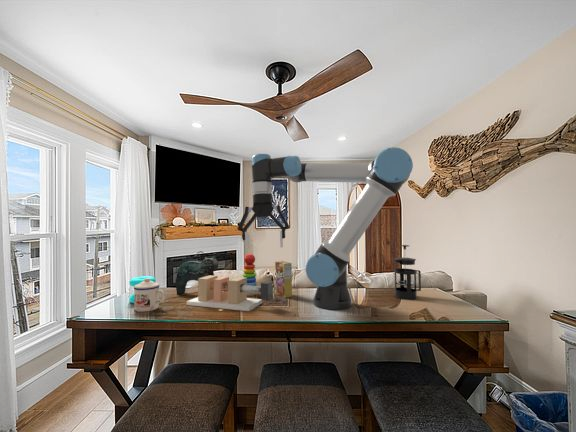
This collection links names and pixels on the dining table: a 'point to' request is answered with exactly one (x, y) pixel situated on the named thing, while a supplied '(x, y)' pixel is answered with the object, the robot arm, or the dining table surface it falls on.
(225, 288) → the shaft
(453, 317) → the dining table surface
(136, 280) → the donuts
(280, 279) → the candy box
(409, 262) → the french press
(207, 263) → the dark teal curved piece
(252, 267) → the stacking toy
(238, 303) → the shaft bracket
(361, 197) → the robot arm
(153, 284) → the teacup with lid
